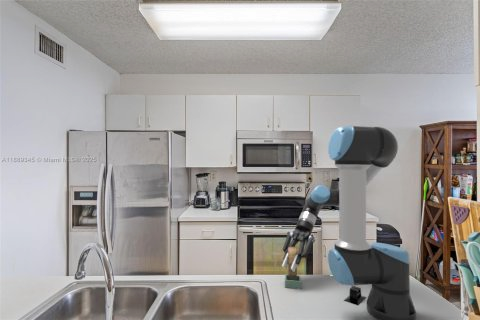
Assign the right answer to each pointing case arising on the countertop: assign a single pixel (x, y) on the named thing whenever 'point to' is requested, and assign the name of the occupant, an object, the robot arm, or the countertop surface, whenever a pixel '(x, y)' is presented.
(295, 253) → the block
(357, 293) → the black blocky piece
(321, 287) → the countertop surface
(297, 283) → the cradle
